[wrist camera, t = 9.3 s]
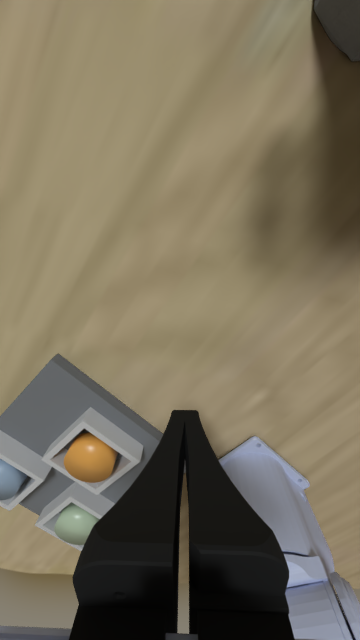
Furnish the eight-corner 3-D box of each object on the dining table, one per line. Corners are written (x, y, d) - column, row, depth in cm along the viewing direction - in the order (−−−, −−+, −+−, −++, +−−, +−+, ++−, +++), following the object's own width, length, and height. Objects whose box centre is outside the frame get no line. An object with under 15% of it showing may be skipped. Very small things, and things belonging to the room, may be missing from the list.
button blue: (36, 469, 25) (25, 485, 24) (13, 489, 27) (2, 506, 25) (-3, 445, 24) (-16, 460, 23) (-25, 467, 26) (-39, 483, 24)
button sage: (110, 515, 28) (105, 532, 26) (86, 532, 29) (80, 550, 27) (77, 494, 26) (70, 511, 25) (54, 513, 28) (45, 531, 26)
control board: (193, 457, 26) (193, 483, 24) (89, 531, 32) (80, 560, 29) (57, 353, 23) (39, 370, 20) (-36, 457, 28) (-61, 482, 25)
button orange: (126, 450, 24) (122, 466, 22) (98, 473, 25) (92, 489, 24) (90, 424, 23) (83, 438, 21) (62, 449, 24) (54, 464, 23)
